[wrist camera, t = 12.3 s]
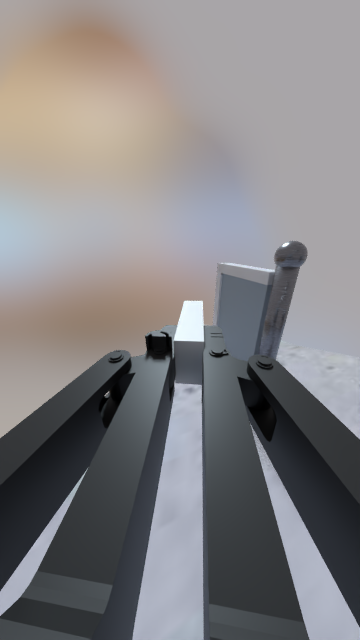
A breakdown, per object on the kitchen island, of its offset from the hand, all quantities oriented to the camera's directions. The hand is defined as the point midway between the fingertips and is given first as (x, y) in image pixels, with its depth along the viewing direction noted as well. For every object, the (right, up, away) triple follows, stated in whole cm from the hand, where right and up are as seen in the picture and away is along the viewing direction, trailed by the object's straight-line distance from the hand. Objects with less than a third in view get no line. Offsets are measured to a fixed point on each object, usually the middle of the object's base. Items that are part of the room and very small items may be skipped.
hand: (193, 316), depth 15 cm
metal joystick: (+12, -11, +13) cm, 21 cm away
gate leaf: (+9, -7, +19) cm, 22 cm away
